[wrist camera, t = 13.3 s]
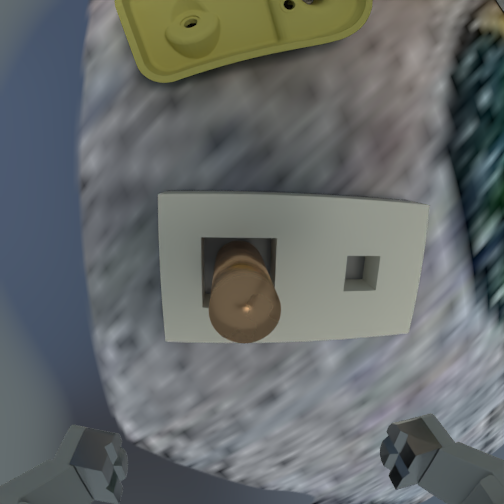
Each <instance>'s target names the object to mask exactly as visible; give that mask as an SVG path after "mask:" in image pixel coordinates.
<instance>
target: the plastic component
mask: <svg viewBox="0 0 504 504" xmlns="http://www.w3.org/2000/svg"><path fill="white" fill-rule="evenodd" d="M284 1H286V0H115V7H116V10H117V12H118V15H119V18H120V21H121V24H122V26H123V29H124V32H125V35H126V37H127V40H128V43H129V46H130V48H131V51H132V54H133V56H134V59H135V62H136V64H137V67H138V69H139V70H140V72H141V73H142V74H143V75H144V76H146V77H147V78H148V79H151V80H153V81H156V82H160V83H168V82H174V81H177V80H180V79H183V78H186V77H189V76H192V75H195V74H198V73H201V72H204V71H207V70H211V69H214V68H217V67H221V66H224V65H228V64H232V63H235V62H239V61H243V60H247V59H251V58H255V57H259V56H264V55H268V54H273V53H278V52H282V51H288V50H293V49H298V48H304V47H309V46H314V45H320V44H325V43H329V42H333V41H337V40H340V39H343V38H345V37H348V36H350V35H352V34H353V33H355V32H356V31H358V30H359V29H360V28H361V27H362V26H363V25H364V24H365V22H366V21H367V19H368V17H369V15H370V12H371V9H372V1H373V0H314V1H313V2H312V3H311V4H310V5H309V4H306V3H305V2H303V1H302V0H289V2H288V5H293V8H292V9H290V10H288V9H286V8H285V7H284V5H283V4H284ZM191 23H197V24H196V25H195V26H193V27H191V28H186V27H187V25H189V24H191Z"/></svg>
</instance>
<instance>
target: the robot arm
mask: <svg viewBox="0 0 504 504" xmlns="http://www.w3.org/2000/svg"><path fill="white" fill-rule="evenodd" d="M497 2H498V4H499V5H500V7H501V8H502V10H503V11H504V0H497ZM387 434H388V435H389V436H388V437H386V438H385V439H384V440H383V441H382V444H381V447H380V457H381V461H382V463H383V465H384V467H386V468H388V469H390V473H389V477H390V479H391V481H392V483H393V485H394V487H395V489H396V490H398V489H401V488H405V487H408V486H411V485H415V484H418V485H419V486H421V487H422V488H424V489H425V490H427V491H428V492H430V493H431V494H433V495H434V496H436V497H437V498H439V499H440V500H442V501H444V502H445V503H447V504H504V460H502V459H499V458H497V457H494V456H492V455H489V454H487V453H484V452H482V451H479V450H477V449H475V448H472V447H470V446H467V445H465V444H463V443H460V442H457V443H455V442H454V440H453V439H452V438H451V437H450V435H449V434H448V433H447V431H446V430H445V429H444V427H443V426H442V425H441V423H440V422H439V421H438V420H437V418H436V417H435V416H434V415H433V414H431V413H430V414H427V415H423V416H419V417H415V418H411V419H407V420H403V421H399V422H395V423H392V424H391V425H390V426H389V427H388V429H387ZM121 444H122V439H121V437H120V434H118V433H112V432H107V431H102V430H97V429H92V428H87V427H81V426H77V425H72V426H71V427H69V429H68V431H67V433H66V435H65V437H64V439H63V441H62V443H61V445H60V447H59V449H58V451H57V453H56V455H55V457H54V459H53V460H50V459H49V460H47V461H45V462H43V463H42V464H40V465H38V466H36V467H34V468H33V469H31V470H29V471H27V472H25V473H23V474H22V475H20V476H18V477H16V478H14V479H12V480H10V481H9V482H7V483H5V484H3V485H1V486H0V504H91V503H92V502H93V500H98V501H103V502H108V503H114V504H119V503H120V499H121V495H122V491H123V487H122V485H121V481H122V480H123V479H125V478H126V476H127V471H128V458H127V454H126V451H125V450H124V449H123V448H122V447H121Z"/></svg>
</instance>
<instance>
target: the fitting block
mask: <svg viewBox="0 0 504 504" xmlns="http://www.w3.org/2000/svg"><path fill="white" fill-rule="evenodd" d="M428 216H429V205H426V204H422V203H417V202H413V201H408V200H399V199H388V198H376V197H363V196H349V195H333V194H315V193H294V192H267V191H216V190H177V191H165V192H162V193H159V194H158V232H159V258H160V277H161V293H162V307H163V319H164V330H165V340H166V342H193V343H237V342H233V341H230V340H228V339H226V338H224V337H222V336H221V335H220V334H219V333H218V332H217V331H216V330H215V329H214V327H213V326H212V324H211V321H210V318H209V302H210V294H211V287H212V280H213V272H214V265H215V259H216V255H217V253H218V251H219V250H220V249H221V248H222V247H223V246H224V245H225V244H227V243H229V242H232V241H238V240H240V241H246V242H249V243H251V244H252V245H254V246H255V247H256V248H257V249H258V251H259V252H260V254H261V257H262V259H263V261H264V264H265V266H266V269H267V271H268V273H269V276H270V278H271V280H272V283H273V285H274V288H275V290H276V292H277V295H278V297H279V300H280V303H281V316H280V319H279V322H278V324H277V326H276V327H275V329H274V330H273V331H272V332H271V333H270V334H269V335H268V336H266V337H265V338H263V339H261V340H259V341H256V342H251V343H274V342H303V341H322V340H338V339H352V338H364V337H375V336H386V335H395V334H404V333H409V329H410V324H411V320H412V316H413V311H414V306H415V302H416V297H417V291H418V286H419V281H420V275H421V269H422V263H423V256H424V249H425V242H426V234H427V225H428Z"/></svg>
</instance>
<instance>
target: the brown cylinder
mask: <svg viewBox="0 0 504 504" xmlns="http://www.w3.org/2000/svg"><path fill="white" fill-rule="evenodd" d="M280 316H281V303H280V300H279V297H278V295H277V292H276V290H275V288H274V285H273V283H272V280H271V278H270V276H269V273H268V271H267V269H266V266H265V264H264V261H263V259H262V257H261V254H260V252H259V251H258V249H257V248H256V247H255V246H254V245H252V244H251V243H249V242H246V241H240V240H238V241H232V242H229V243H227V244H225V245H224V246H223V247H222V248H221V249H220V250H219V251H218V253H217V255H216V259H215V265H214V272H213V280H212V287H211V294H210V302H209V318H210V321H211V324H212V326H213V327H214V329H215V330H216V331H217V332H218V333H219V334H220V335H221V336H222V337H224V338H226V339H228V340H230V341H233V342H237V343H251V342H256V341H259V340H261V339H263V338H265V337H266V336H268V335H269V334H270V333H271V332H272V331H273V330H274V329H275V327H276V326H277V324H278V322H279V319H280Z"/></svg>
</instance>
